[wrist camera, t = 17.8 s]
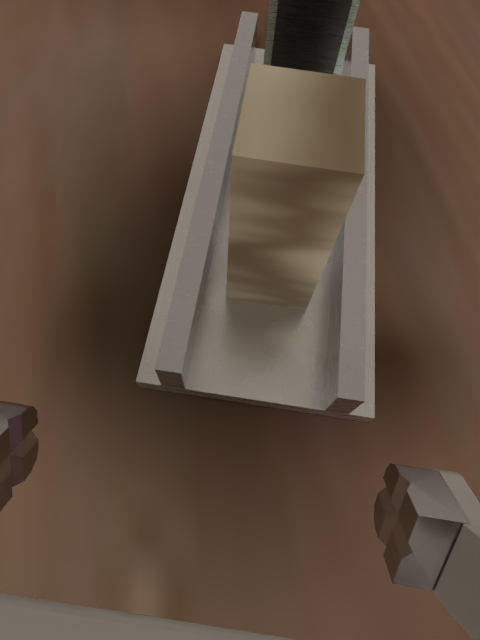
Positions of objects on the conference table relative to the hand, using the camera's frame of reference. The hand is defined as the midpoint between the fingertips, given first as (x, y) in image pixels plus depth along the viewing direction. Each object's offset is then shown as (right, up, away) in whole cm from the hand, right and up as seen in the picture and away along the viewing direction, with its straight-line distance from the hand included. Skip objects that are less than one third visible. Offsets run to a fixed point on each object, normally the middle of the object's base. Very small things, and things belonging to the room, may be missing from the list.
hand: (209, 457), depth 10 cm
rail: (+3, +11, +18) cm, 21 cm away
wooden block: (+3, +6, +14) cm, 16 cm away
